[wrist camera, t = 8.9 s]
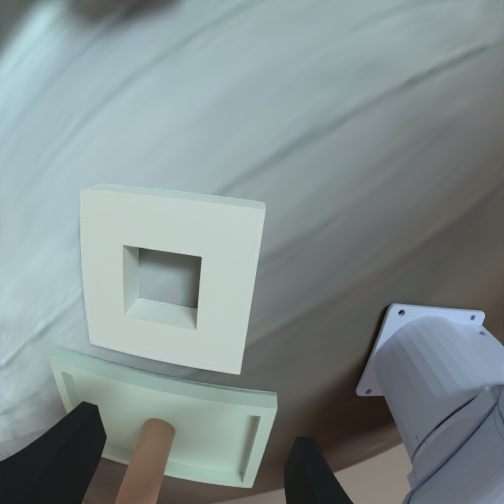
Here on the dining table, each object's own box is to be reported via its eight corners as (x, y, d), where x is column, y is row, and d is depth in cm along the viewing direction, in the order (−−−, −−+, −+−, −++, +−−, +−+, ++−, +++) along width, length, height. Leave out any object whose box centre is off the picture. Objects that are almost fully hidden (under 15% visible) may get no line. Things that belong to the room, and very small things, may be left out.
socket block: (264, 202, 17) (265, 209, 15) (242, 351, 20) (239, 374, 18) (101, 183, 17) (81, 188, 14) (105, 325, 20) (90, 343, 17)
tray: (276, 392, 21) (277, 408, 19) (252, 474, 25) (251, 488, 23) (59, 346, 21) (49, 358, 19) (87, 437, 25) (81, 449, 23)
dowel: (174, 422, 22) (149, 510, 14) (175, 440, 23) (154, 521, 14) (143, 415, 22) (110, 498, 14) (146, 433, 23) (118, 511, 14)
